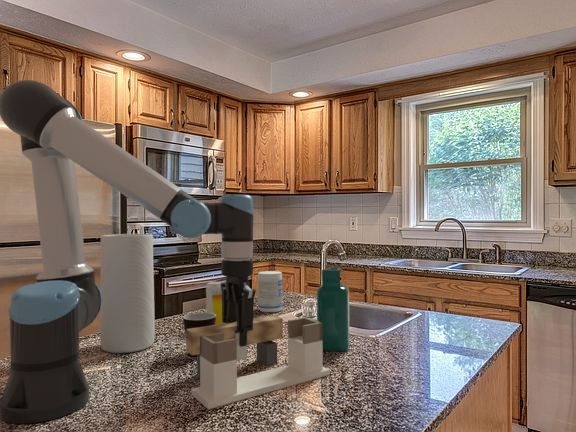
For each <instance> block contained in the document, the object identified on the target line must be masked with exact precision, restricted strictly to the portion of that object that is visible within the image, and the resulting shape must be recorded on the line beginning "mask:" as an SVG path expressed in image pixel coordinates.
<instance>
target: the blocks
mask: <svg viewBox="0 0 576 432" xmlns="http://www.w3.org/2000/svg"><path fill="white" fill-rule="evenodd" d="M256 361H258V362H259V363H261V364H263V365H265V366H267V367H268V366H272V365H276V364H278V342H275V340H271V341H266V342H261V343H256ZM196 374H197V375H198V376H199V377H200V354H197V358H196Z"/></svg>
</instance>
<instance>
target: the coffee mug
mask: <svg viewBox="0 0 576 432" xmlns="http://www.w3.org/2000/svg"><path fill="white" fill-rule="evenodd" d="M182 319H183V328H184V337H185V338H186V329H191V328H197V327H204V326H211V325H215V320H216V315H215V314H213V313H206V312H195V313H193V312H191V313H187V314H186V315H183V316H182ZM186 352H187V351H186ZM187 357H191V358H194V359H195V358H196V359H197V355H191V354H190V353H188V352H187Z"/></svg>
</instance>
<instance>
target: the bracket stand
mask: <svg viewBox="0 0 576 432" xmlns="http://www.w3.org/2000/svg"><path fill="white" fill-rule="evenodd" d="M323 351H324V350H323V342H322V323H321V322H318V321H317V320H314V319H312V318H308V317H305V316H304V317H299V318H294V319H293V318H292V319H289V320H287V352H288V353H287V356H288V359H287V361H288V364H287V365H284V366H279V367H276V368H271V369H268V370H263V371H260V372H255V373H252V374H247V375H244V376H239V377H238V363H237V362H238V360H237V339H235V338H234V339H229V340H224V333H223V332H220V333H214V334H209V335H203V336H200V376H199V378H200V379H199V380H200V382H199V383H200V385H199V387H195V388H192V389H191V395H192V396H193V397H194V399H196V400H197V401H198V403H200V404H202V406H204V407H205V408H206V409H208V410H212V409H215V408H218V407H222V406H225V405H228V404H232V403H236V402H238V401H239V402H240V401H243V400H247V399H250V398H253V397H256V396H260V395H264V394H268V393H271V392H274V391H278V390H282V389H285V388H288V387H291V386H295V385H299V384H302V383H306V382H309V381H312V380H315V379H316V380H317V379H319V378H320V379H321V378H323V377H327V376H330V374H331V373H330V372H331V371H330V369H329V368H327V367H325V366H324V365H323V361H324V360H323V359H324V358H323V357H324V356H323V353H324V352H323Z"/></svg>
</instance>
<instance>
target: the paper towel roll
mask: <svg viewBox="0 0 576 432" xmlns="http://www.w3.org/2000/svg"><path fill="white" fill-rule="evenodd" d="M153 237H154V235H153V234H151V233H120V234H119V233H118V234H116V233H115V234H103V235H100V261H99V262H100V264H99V265H100V269H99V270H100V276H99V277H100V279H99V280H100V282H99V283H100V285H99V286H100V287H99V289H100V291H101V293H102V306H101V309H100V311H99V314H100V325H99V327H100V347H101V349H102V350H103V351H105V353H106V352H107V353H112V354H128V353H134V352H139V351H143V350H146V349H148V348H150V347H151V346H152V345H153V344H154V343H155V335H156V333H155V325H156V323H155V322H156V321H155V320H156V319H155V278H154V277H155V273H154V238H153Z"/></svg>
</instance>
